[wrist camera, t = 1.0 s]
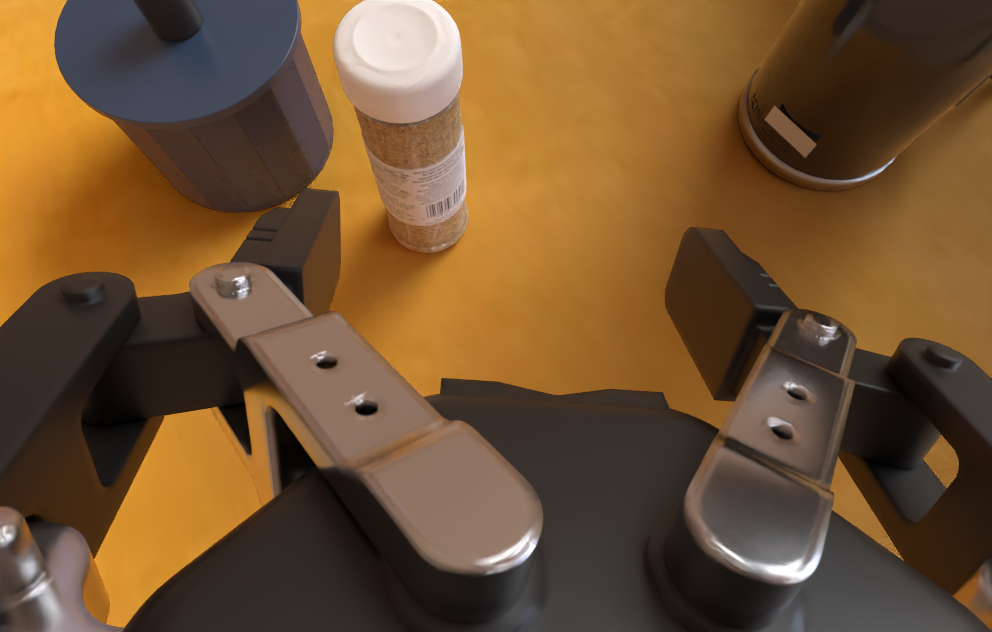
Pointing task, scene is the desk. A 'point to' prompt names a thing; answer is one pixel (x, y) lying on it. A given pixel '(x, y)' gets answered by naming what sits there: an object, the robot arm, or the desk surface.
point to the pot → (249, 146)
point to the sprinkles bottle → (409, 114)
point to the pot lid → (174, 56)
